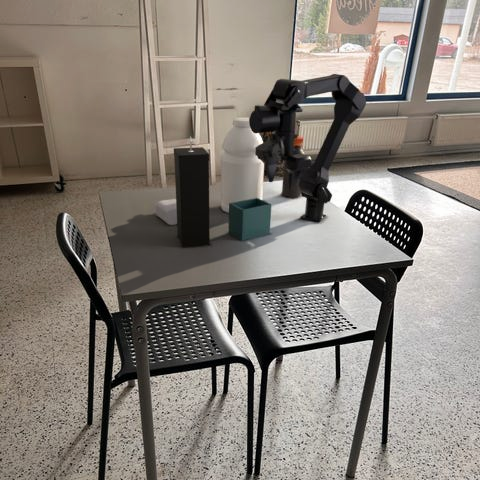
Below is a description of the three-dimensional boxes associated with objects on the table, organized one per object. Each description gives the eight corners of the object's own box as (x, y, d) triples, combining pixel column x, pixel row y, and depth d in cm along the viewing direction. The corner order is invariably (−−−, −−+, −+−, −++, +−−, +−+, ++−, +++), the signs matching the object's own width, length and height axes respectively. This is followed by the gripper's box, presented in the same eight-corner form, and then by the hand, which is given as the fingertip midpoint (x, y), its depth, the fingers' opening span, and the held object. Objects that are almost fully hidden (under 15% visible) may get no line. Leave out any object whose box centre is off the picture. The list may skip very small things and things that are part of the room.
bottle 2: (288, 199, 175) (293, 140, 164) (278, 194, 180) (282, 136, 169) (304, 197, 178) (310, 138, 167) (293, 191, 183) (298, 134, 172)
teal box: (257, 197, 147) (228, 203, 142) (271, 204, 142) (243, 210, 137) (255, 226, 151) (228, 232, 146) (269, 233, 146) (242, 240, 141)
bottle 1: (212, 206, 166) (211, 117, 151) (244, 199, 173) (247, 113, 159) (237, 218, 157) (239, 125, 142) (270, 210, 164) (276, 120, 149)
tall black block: (182, 247, 136) (177, 141, 121) (177, 236, 143) (172, 135, 128) (209, 245, 138) (209, 140, 123) (204, 234, 144) (202, 134, 130)
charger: (174, 206, 165) (195, 220, 154) (148, 210, 161) (167, 225, 150) (174, 192, 162) (194, 205, 152) (147, 196, 158) (167, 210, 147)
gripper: (241, 126, 140) (239, 182, 148) (283, 139, 127) (279, 199, 135) (272, 123, 145) (269, 176, 153) (315, 135, 132) (309, 192, 140)
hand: (280, 186), depth 145 cm, fingers open, 9 cm apart
